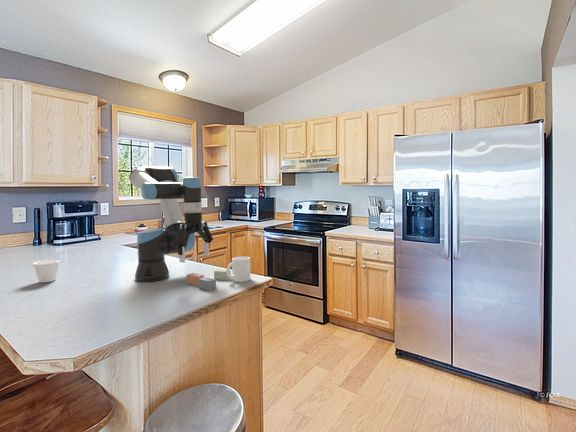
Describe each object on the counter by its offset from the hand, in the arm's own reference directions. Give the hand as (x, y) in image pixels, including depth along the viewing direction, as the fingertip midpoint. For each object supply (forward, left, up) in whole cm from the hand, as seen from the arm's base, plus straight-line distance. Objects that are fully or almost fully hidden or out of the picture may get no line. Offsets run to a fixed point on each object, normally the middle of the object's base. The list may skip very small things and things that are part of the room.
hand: (194, 259), depth 143 cm
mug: (+14, +13, -11) cm, 22 cm away
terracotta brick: (0, 0, -11) cm, 11 cm away
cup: (-62, -35, -11) cm, 72 cm away
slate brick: (+10, -2, -11) cm, 15 cm away
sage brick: (+5, +12, -11) cm, 17 cm away
